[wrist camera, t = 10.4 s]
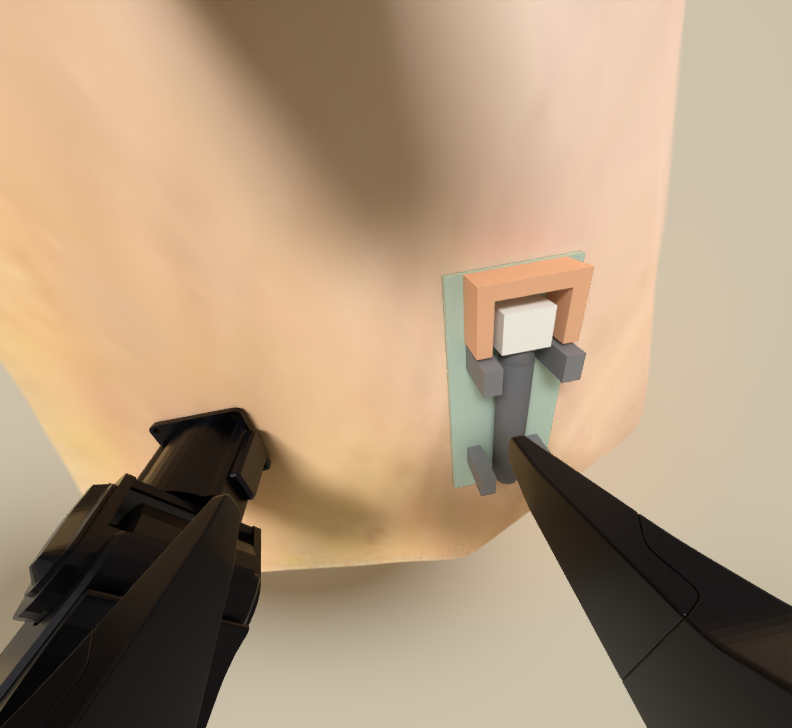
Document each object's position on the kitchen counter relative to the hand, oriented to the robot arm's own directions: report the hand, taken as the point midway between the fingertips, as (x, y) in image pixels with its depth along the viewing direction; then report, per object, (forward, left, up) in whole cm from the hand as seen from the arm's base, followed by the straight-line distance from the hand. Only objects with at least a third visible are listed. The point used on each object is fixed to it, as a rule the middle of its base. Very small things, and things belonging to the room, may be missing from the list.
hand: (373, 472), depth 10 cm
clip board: (+10, -8, -12) cm, 18 cm away
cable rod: (+10, -9, -12) cm, 17 cm away
